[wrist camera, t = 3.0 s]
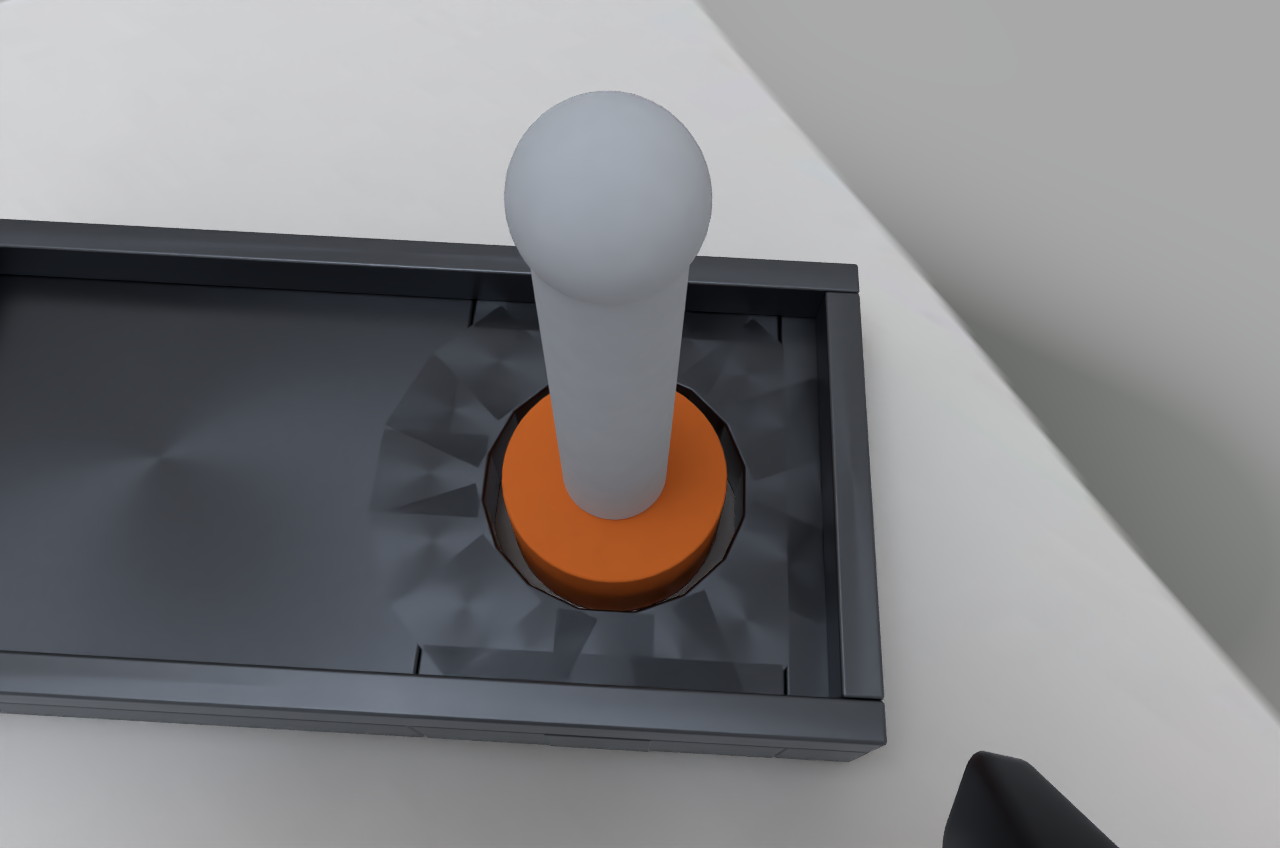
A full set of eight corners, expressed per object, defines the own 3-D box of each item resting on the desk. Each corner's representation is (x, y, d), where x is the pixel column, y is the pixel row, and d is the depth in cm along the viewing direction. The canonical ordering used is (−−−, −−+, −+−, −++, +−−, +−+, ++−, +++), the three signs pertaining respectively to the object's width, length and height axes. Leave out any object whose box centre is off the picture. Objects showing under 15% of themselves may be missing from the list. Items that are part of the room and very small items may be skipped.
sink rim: (-240, 688, 18) (-295, 677, 17) (-36, 245, 22) (-69, 213, 21) (871, 753, 18) (887, 745, 17) (847, 292, 22) (858, 263, 21)
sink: (-168, 704, 19) (-241, 689, 18) (9, 286, 24) (-36, 244, 22) (852, 763, 19) (873, 753, 18) (832, 330, 24) (847, 291, 22)
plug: (518, 622, 20) (389, 323, 9) (509, 428, 22) (394, -9, 11) (731, 601, 21) (859, 285, 9) (702, 412, 23) (779, -32, 12)
